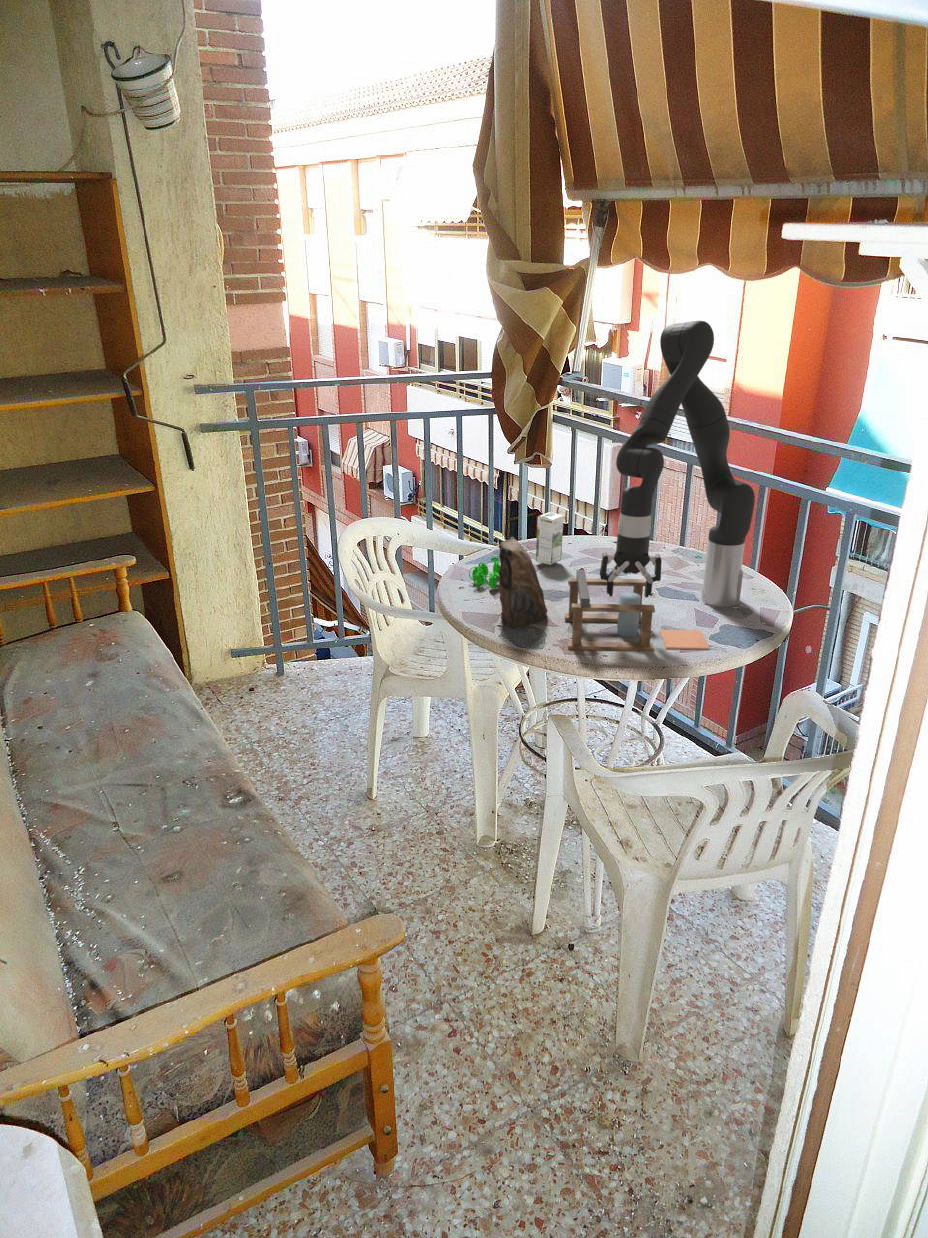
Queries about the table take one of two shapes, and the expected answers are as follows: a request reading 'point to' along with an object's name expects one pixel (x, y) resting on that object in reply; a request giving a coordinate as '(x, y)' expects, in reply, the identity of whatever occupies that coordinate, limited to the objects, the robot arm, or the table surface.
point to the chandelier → (486, 573)
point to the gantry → (608, 617)
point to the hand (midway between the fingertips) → (628, 595)
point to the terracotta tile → (683, 639)
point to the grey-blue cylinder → (628, 616)
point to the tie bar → (582, 588)
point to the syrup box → (549, 538)
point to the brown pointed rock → (519, 586)
